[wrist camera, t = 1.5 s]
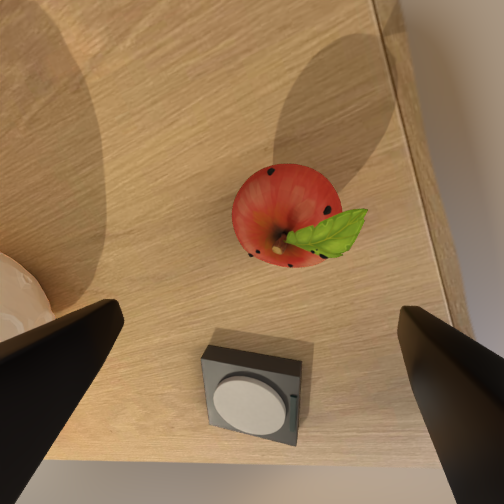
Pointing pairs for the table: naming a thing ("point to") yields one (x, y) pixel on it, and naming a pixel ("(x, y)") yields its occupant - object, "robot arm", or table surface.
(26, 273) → the decorative sphere
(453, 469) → the robot arm
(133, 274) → the table surface
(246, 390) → the scale
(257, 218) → the spotted red fruit
